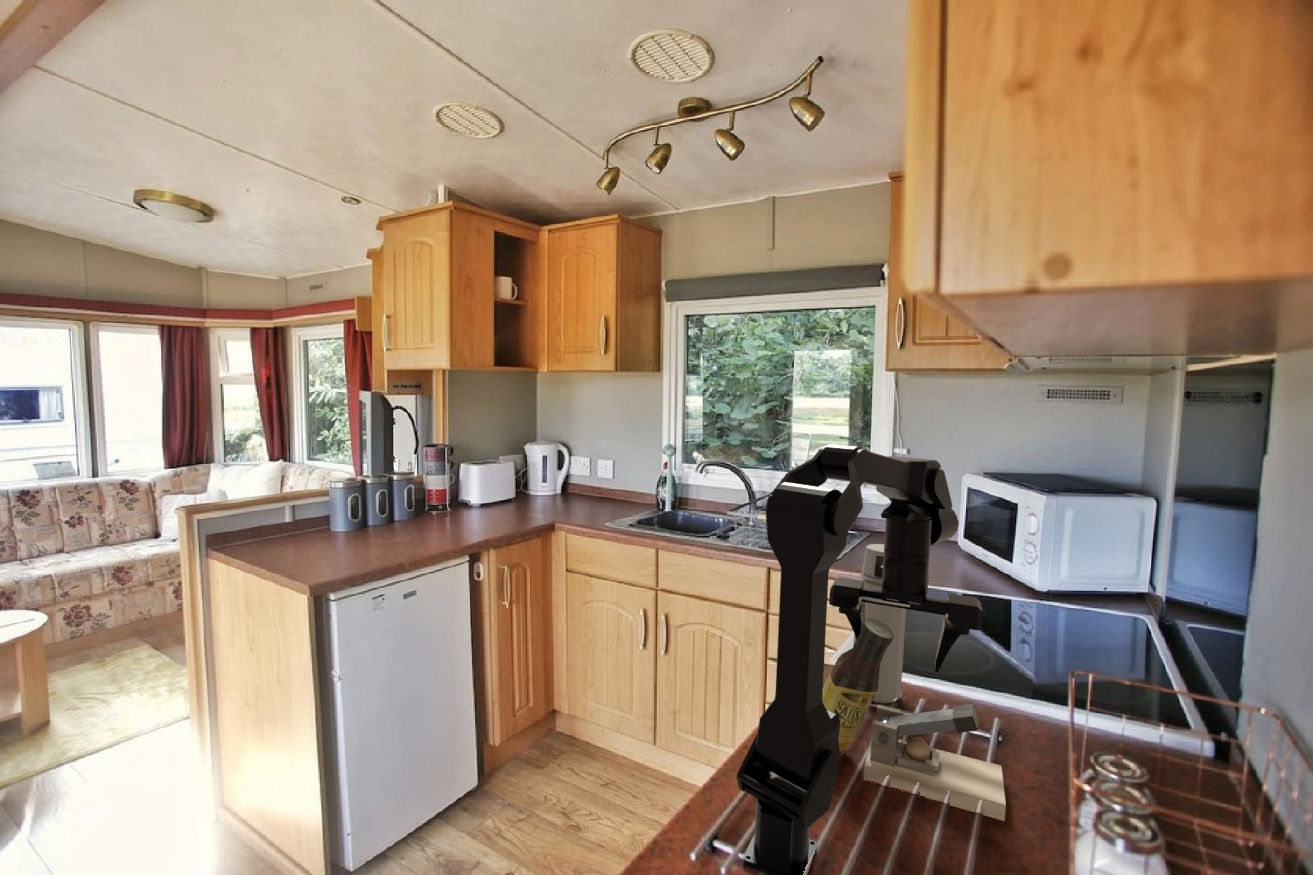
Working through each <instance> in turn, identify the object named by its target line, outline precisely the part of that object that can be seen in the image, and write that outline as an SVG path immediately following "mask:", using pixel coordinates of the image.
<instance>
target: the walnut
mask: <svg viewBox="0 0 1313 875" xmlns="http://www.w3.org/2000/svg"><path fill="white" fill-rule="evenodd" d="M906 741H907V743H906V745H905V751H906V754H907V756H908V757H909V758H910V759H912V760H916V761H919V762H925V761H926V760H927V759H928V758H929V756H930V749H929V747H930V746H929V745H928V743H927V742H926V741H925V740H923V739H922V738H921V737H917V736H916V737H911V738H909V739H908V740H906Z"/></svg>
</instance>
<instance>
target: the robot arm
mask: <svg viewBox="0 0 1313 875" xmlns="http://www.w3.org/2000/svg"><path fill="white" fill-rule="evenodd" d="M941 468H942V466H941V464H940V462H939V461H937V460H935V459H928V458H917V457H916V458H915V457H905V456H895V455H889V456H886V455H882V454H879V453H875V452H872V451H868V450H867V449H865V448H863V447H862V446H856V445H846V444H845V445H844V444H833V443H829V444H827V445H823V446H821V447H820V448H819V449H818V451H816V453H815V455H814V456H813V457H812V458H810V459H809V460H807V461H805V462H803V463H801V464H799V465H798V466H796V467H795V468H793V469H791V470H790V471H788V472H787V473H785V475H783V477H782V479H781V480H779V482H778V483H777V484H776V486H775V487H774V488H773V490H772V491H771V493H770V494H769V495H768V497H767V499H766V501H765V510H764V512H765V523H766V524H765V526H766V539H767V542H768V544H769V547H770V549H771V551H772V552H773V554H774V556H775V558H776V560H777V562H778V564H779V567H780V581H779V582H780V583H779V584H780V585H779V602H778V603H779V605H778V606H779V607H778V609H779V610H778V625H777V626H778V627H777V628H778V631H777V650H776V651H777V652H776V675H775V693H774V699H773V700H772V701H771V703H770V704H769V705H768V706H767V708H766V709H765V711H764V712H763V713H762V715H761V716H760V717H759V721H758V728H757V734H756V736H754V739H753V741H752V743H751V745H750V748H748V749H749V750H748V751H747V753H746V755H745V757H744V760H743V762H742V763H741V765H740V767H739V769H738V771H737V773H736V780H737V785H738V790H740V791H742V792H745V793H746V794H748V795H750V796H751V797H754V798H755V800H756V802H755V816H754V817H755V818H754V819H755V820H754V821H755V822H754V833H753V836H752V838H751V840H750V842H749V844H748V846H747V848H746V850H745V853H744V854H743V858H742V859H743V861H742V862H743V863H744V864H746V865H747V866H749V867H752V868H756V869H758V870H760V871H762V872H766V871H767V872H766V873H768V874H771V875H803V873H804V872H803V871H805V867H806V865H807V864H808V861H809V859H810V857H811V856H812V854H813V852H814V850H815V848H816V846H817V847H818V842H817V841H816V840H814V839H811V838H810V834H811V832H810V831H811V830H810V828H811V826H812V825H813V824H814V823H815V822H817V821H818V820H819V819H820V818H821V817H823V816H824V815H825V814H826V813H828V812H829V810H830V808H831V804H832V799H833V795H834V792H835V791H834V789H835V786H836V782H837V776H838V772H839V766H840V761H839V760H840V759H839V758H840V757H838V756H837V752H838V753H839V751H840V748H839V730H840V720H839V717H838V715H837V714H835V713H833V712H831V711H828V710H826V708H825V706H824V704H823V700H822V695H823V687H824V672H825V654H826V650H825V649H826V631H827V612H828V605H830V606H832V607H836V608H838V613H839V614H844V615H845V616H846V618H847V621H848V623H849V624H850V627H851V629H852V631H853V634H854V635H855V637H856V640H857V638H858V636H859V634H860V632H861V626H862V624H863V622H864V621H865V602H866V603H872V604H878V605H884V606H891V607H897V608H903V609H906V610H910V611H915V612H922V613H928V614H933V615H940V616H943V620H942V625H941V629H940V630H941V632H940V636H939V640H938V644H937V648H936V650H937V651H936V654H935V661H934V662H935V663H934V672H935V673H939V672H940V669H941V667H942V665H943V663H944V662H945V660H946V657H947V655H948V654H949V651H950V650H951V649H952V647H953V646H954V644H955V643H956V642H957V640H958V639H959V638H960V636H961V635H963V636H969V635H970V632H971V631H972V630H973V631H982V628H983V627H982V626H983V608H982V603H981V601H980V600H979V599H978V598H977V597H974V596H968V595H962V594H955V593H947V600H944V599H937V598H931V597H928V593H929V571H930V555H931V546H932V545H936V544H938V543H941V542H944V541H948V540H950V539H952V538H953V537H954V536H955V535H956V533H957V532H958V530H959V526H960V525H959V524H960V522H959V519H958V516H957V514H956V512H955V510H954V509H953V508H952V507H953V502H952V497H951V493H950V490H949V486H948V482H947V477H946V474H945V470H943V469H941ZM827 480H834V481H835V480H836V481H843V482H849V483H848V484H847V486H846V488H845V489H844V491H842V492H841V491H840V489H835V488H827V487H820V486H822V485H824V484H825V483H826V482H827ZM863 484H864V485H868V486H873V487H876V488H875V490H876V492H878V493H879V494H881V495H882V496H884V497H885V498H887V499H888V500H889V501H890V504H889V505H888V506H887V507H886V508H884V509H883V510H882V512H881V514H880V516H881V517H880V518H882V519H884V520H885V528H884V543H883V544H884V556H879V555H876V562H875V571H874V576H875V577H876V578H881V579H882V590H881V591H880V590H874V589H867V588H864V581H863V580H862V579H855V578H848V577H842V576H839V577H837V579H835V580H834V581H833V583H832V585H831V587H830V589H828V588H829V573H830V569H831V567H832V566H833V565H834V563H835V562H836V560H838V558H839V557H840V555H841V553H843V551H844V550H845V549H846V546H847V540H848V533H849V532H848V531H849V530H850V529H851V527H852V526H853V524H854V522H855V521H856V519H857V518H858V516H859V515H860V513H861V511H862V510H863V509H864V501H863V496H862V489H861V487H862V486H863ZM829 590H830V591H829ZM828 591H829V592H828ZM828 593H829V594H828ZM828 595H829V599H828ZM888 599H893V600H888ZM828 600H829V602H828ZM895 600H899V601H895ZM808 872H809V873H810V870H809V871H808Z"/></svg>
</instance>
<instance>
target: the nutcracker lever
mask: <svg viewBox="0 0 1313 875" xmlns="http://www.w3.org/2000/svg"><path fill="white" fill-rule="evenodd" d="M880 722H884V723H888V724H892V725H896V726H897V737H898V736H899V737H908V736H915V735H923V734H924V735H925V734H926V735H927V734H934V733H942V732H952V731H956V732H957V733H958V734H960V733H969V732H978V731H979V723H978V722H979V721H978V716H977V713H976V710H975V707H974V704H973V703H969V704H961V705H953V706H952V708H949V709H942V710H934V711H933V710H932V711H926V712H925V711H924V712H918V713H917V712H916V713H909V714H900V715H899V716H891V717H890V716H883V717H882V718H881V720H880Z"/></svg>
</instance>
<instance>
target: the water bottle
mask: <svg viewBox="0 0 1313 875" xmlns="http://www.w3.org/2000/svg"><path fill="white" fill-rule="evenodd" d="M876 555H879V556H884V543H883V544H881V543H871V544H870V543H869V544H867V545H866V547H865V553H864V560H863V566H862V571H861V572H860V573H858V574H857V577H858V578H859V579H860V580H863V581H864V588H867V589H874V590H880V591H881V590H882V579H881V578H876V577H875V576H874V571H875V562H876ZM888 600H893V599H888ZM895 601H899V600H895ZM906 614H907V609H903V608H897V607H891V606H884V605H878V604H872V603H866V602H865V620H866V619H875V620H878V621H880V622H882V623H884V624H885V625H887V626H888V627H889V628H890V629H891V630H892V631H893V634H894V638H893V640H892V642H891V644H890V645H889V646H888V647H887V649H886V651H885V653H884V655H883V657H882V661H881V662H880V670H879V681H878V691H877V693H876V695H875V697H874V699H873V701H874V702H873V701H872V702H873V703H879V704H893V703H892V701H893V700H894V699H895V698H899V699H900V698H901V695H902V682H903V681H902V680H903V662H904V645H905V631H906ZM856 641H857V640H856V637H855V634H854V636H853V645H854V644H855V643H856Z"/></svg>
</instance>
